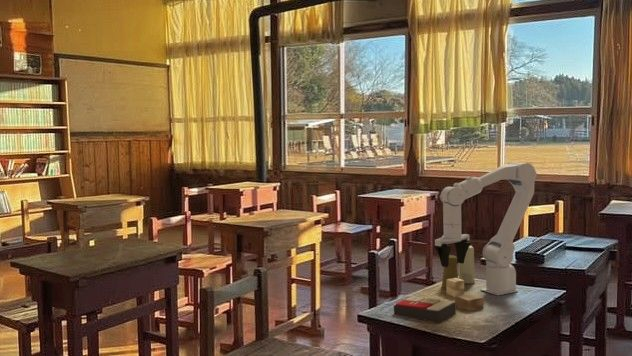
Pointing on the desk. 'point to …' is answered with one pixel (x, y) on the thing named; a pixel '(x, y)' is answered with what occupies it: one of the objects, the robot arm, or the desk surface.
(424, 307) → the calculator
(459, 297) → the walnut base
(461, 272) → the box
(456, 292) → the beech block
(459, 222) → the robot arm
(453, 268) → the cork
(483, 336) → the desk surface
